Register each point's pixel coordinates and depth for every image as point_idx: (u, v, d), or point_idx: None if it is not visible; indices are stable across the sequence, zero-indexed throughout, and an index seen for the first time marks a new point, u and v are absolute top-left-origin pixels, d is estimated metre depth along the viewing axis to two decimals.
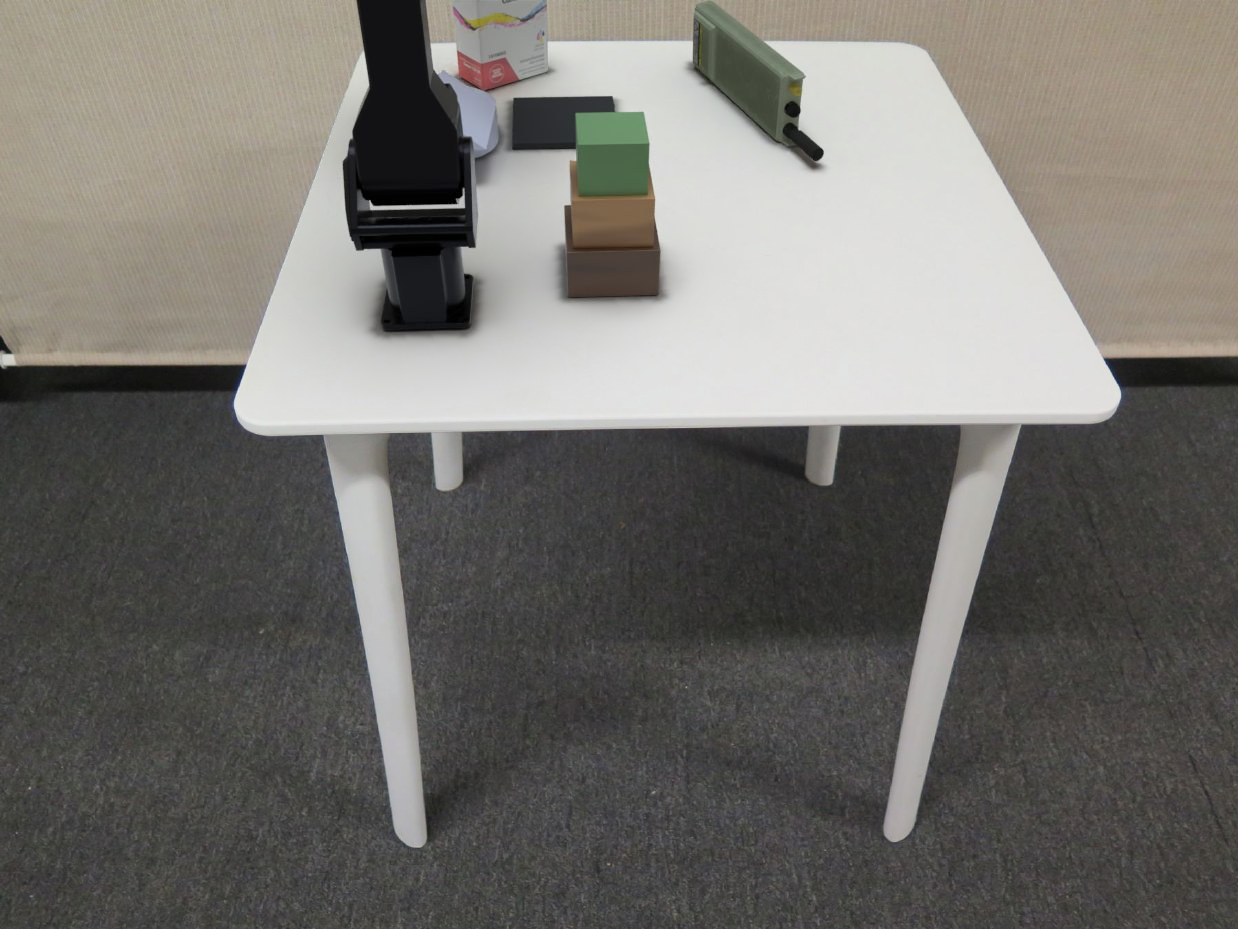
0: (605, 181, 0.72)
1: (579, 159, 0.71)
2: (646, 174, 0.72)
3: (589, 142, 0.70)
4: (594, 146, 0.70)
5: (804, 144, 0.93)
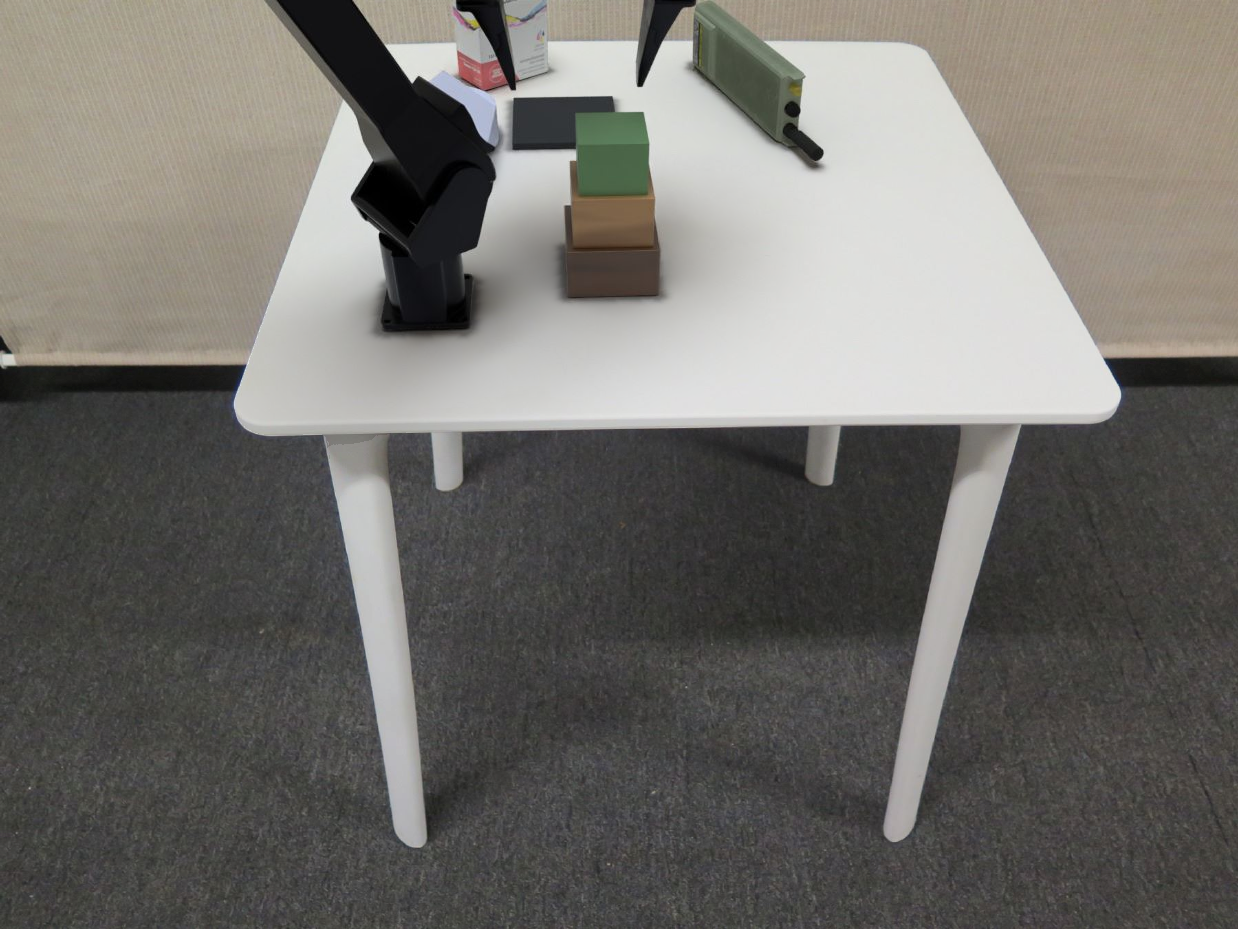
0: (605, 181, 0.72)
1: (579, 159, 0.71)
2: (646, 174, 0.72)
3: (589, 142, 0.70)
4: (594, 146, 0.70)
5: (804, 144, 0.93)
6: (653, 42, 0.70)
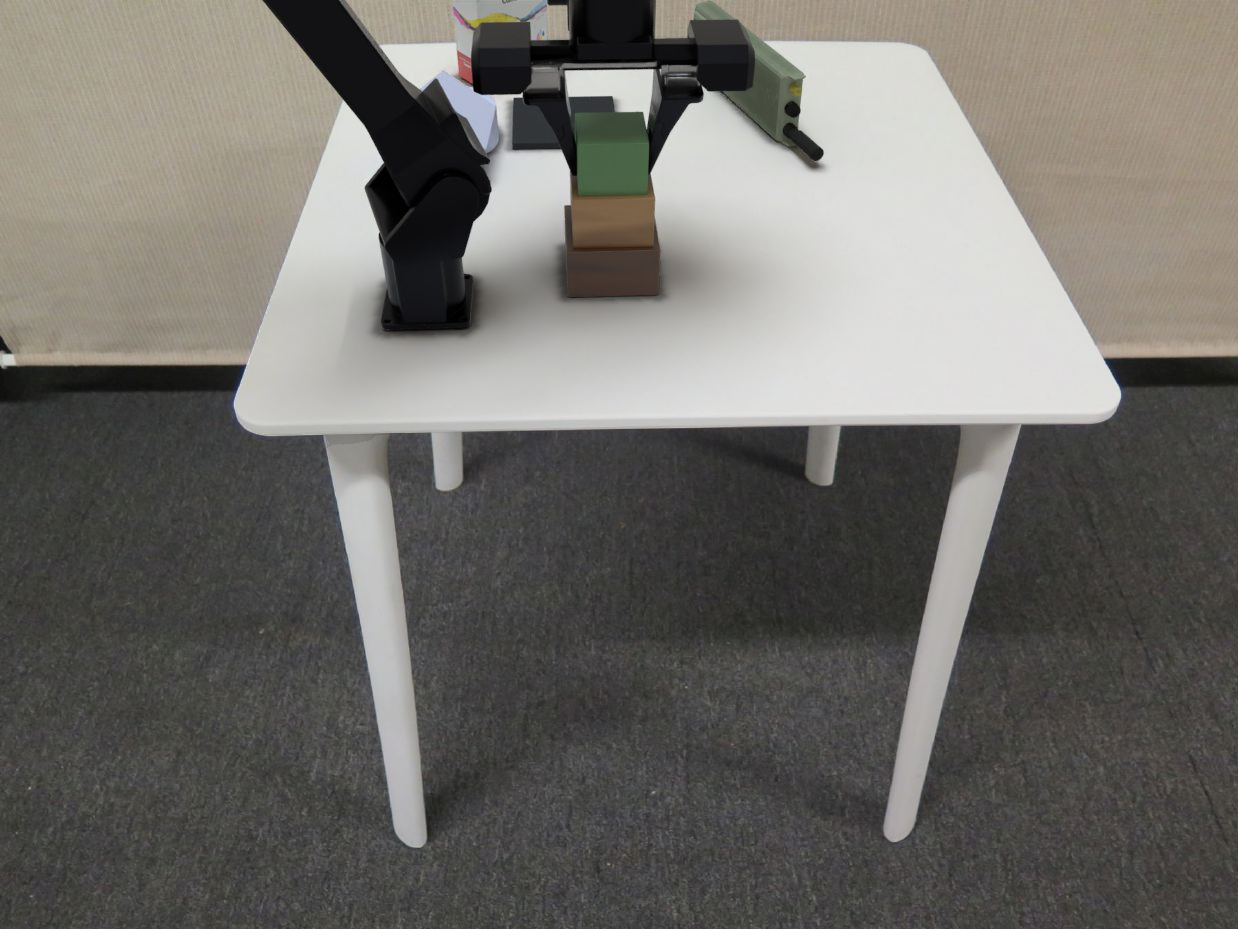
0: (604, 181, 0.72)
1: (579, 159, 0.71)
2: (646, 174, 0.72)
3: (588, 142, 0.70)
4: (594, 146, 0.70)
5: (804, 144, 0.93)
6: (660, 134, 0.71)
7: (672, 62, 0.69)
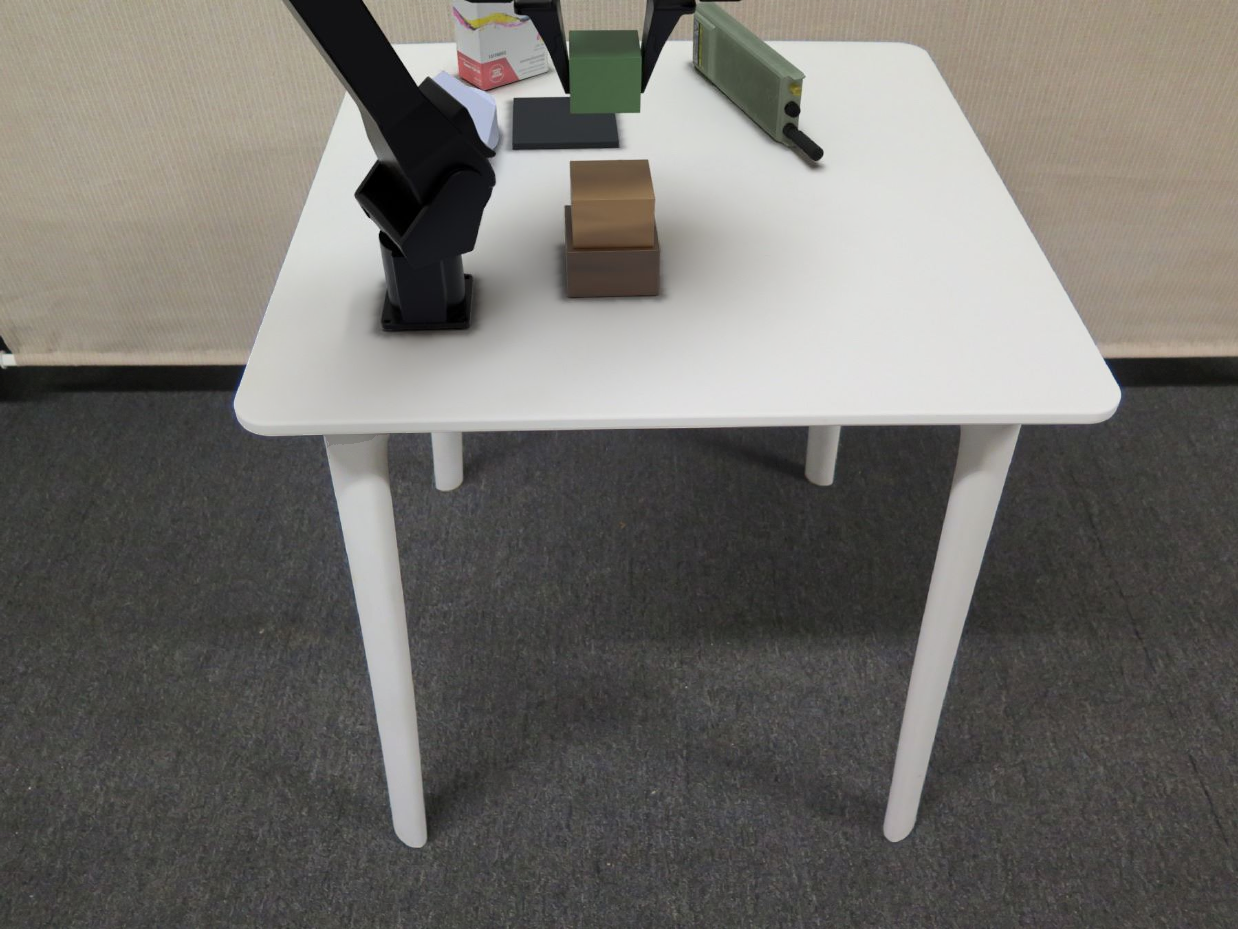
0: (597, 97, 0.72)
1: (571, 74, 0.70)
2: (638, 91, 0.71)
3: (580, 56, 0.70)
4: (586, 60, 0.70)
5: (804, 144, 0.93)
6: (653, 49, 0.70)
7: None
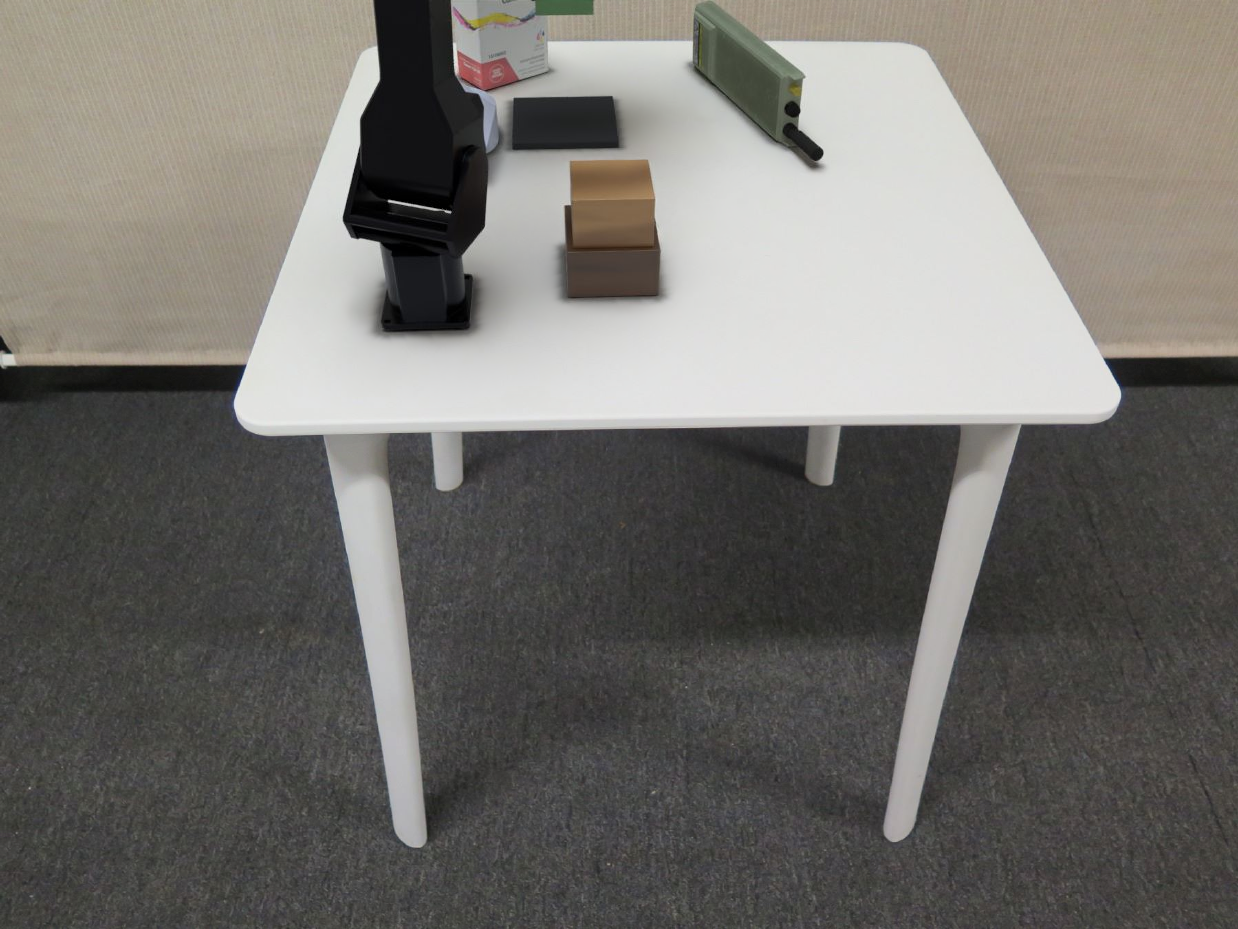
0: (557, 1, 0.87)
1: None
2: None
3: None
4: None
5: (804, 144, 0.93)
6: None
7: None
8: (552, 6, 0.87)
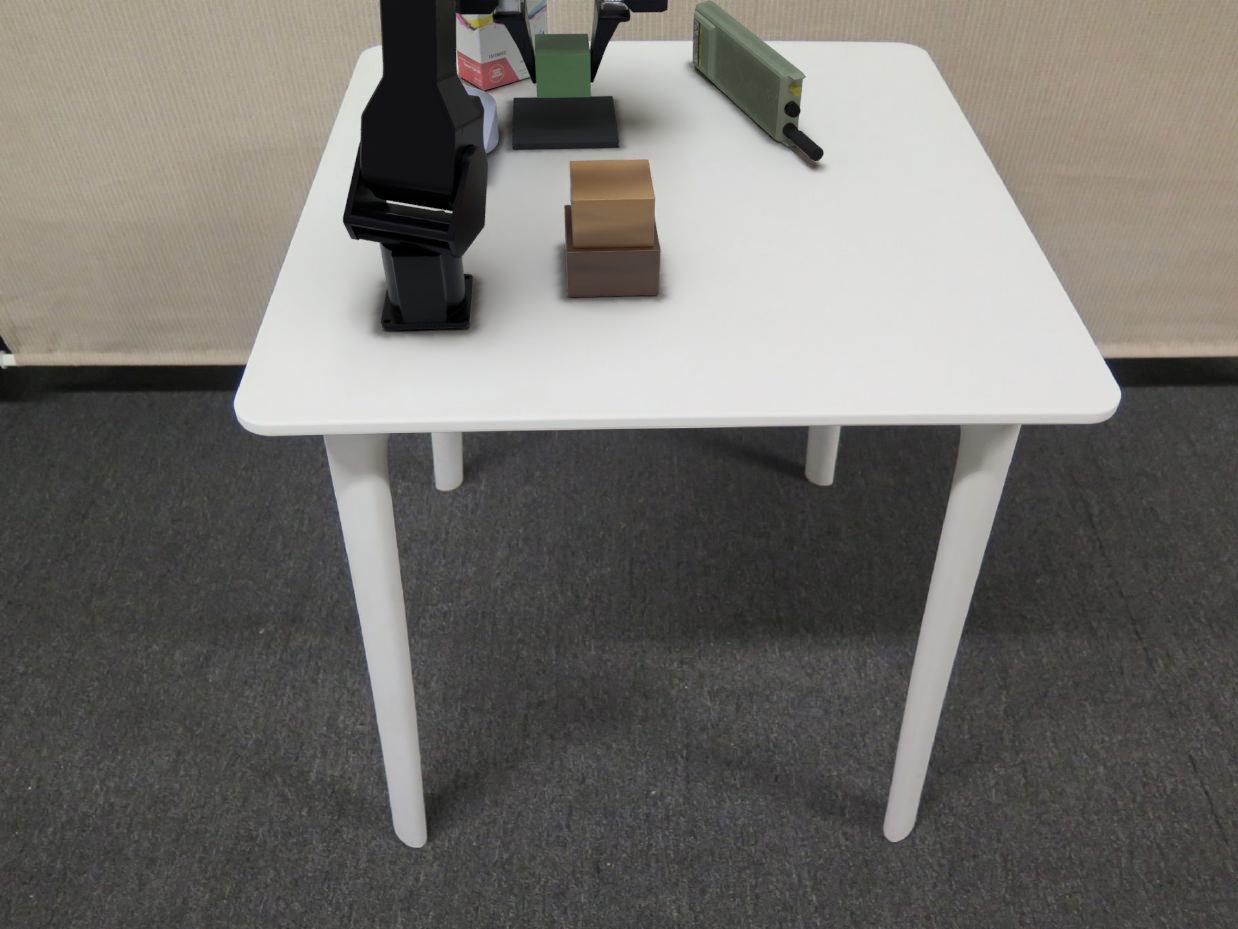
0: (557, 85, 0.93)
1: (536, 67, 0.92)
2: (588, 80, 0.93)
3: (544, 53, 0.92)
4: (548, 57, 0.92)
5: (804, 144, 0.93)
6: (599, 48, 0.92)
7: None
8: (552, 89, 0.94)
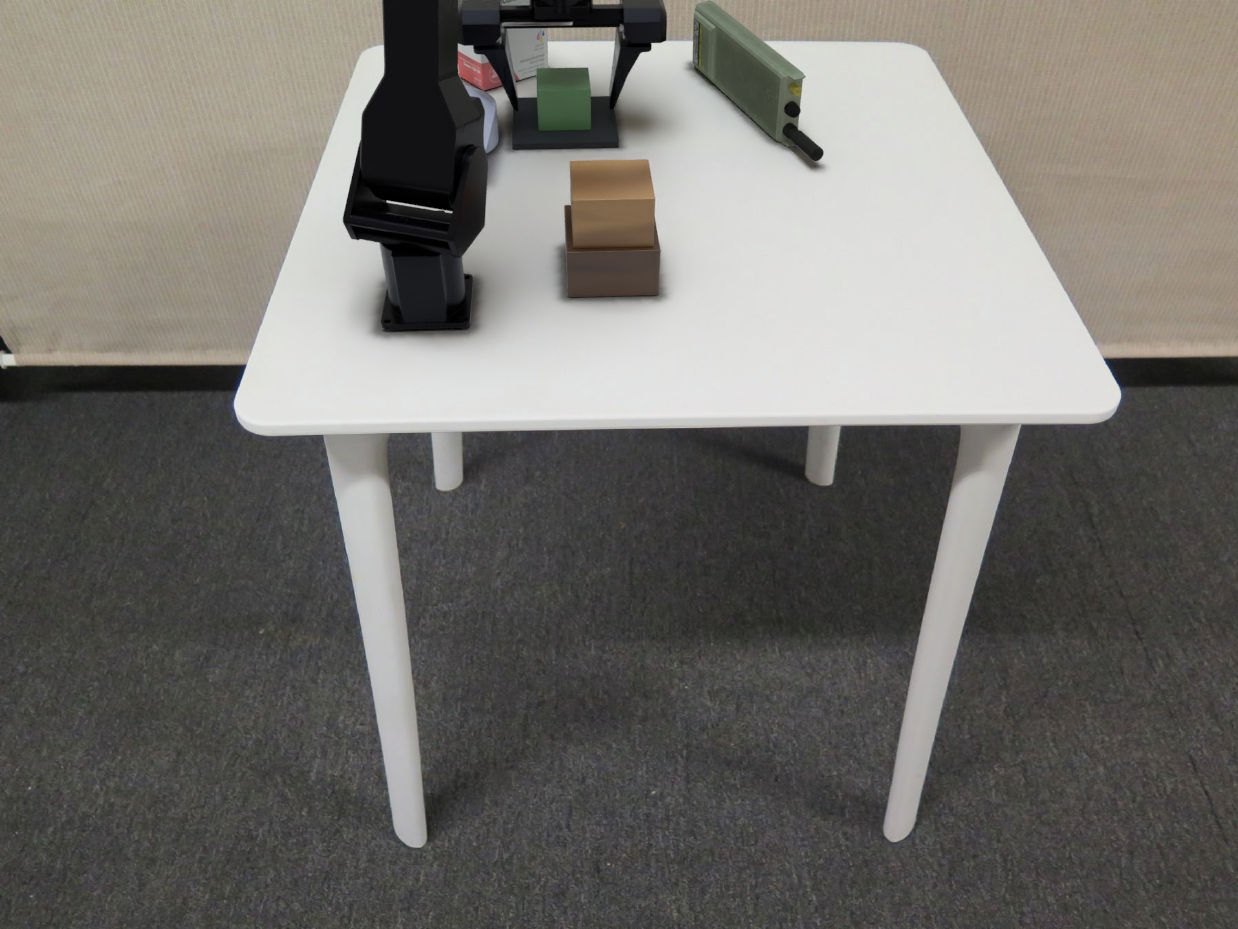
0: (558, 119, 0.96)
1: (538, 101, 0.94)
2: (589, 113, 0.96)
3: (545, 88, 0.94)
4: (549, 92, 0.94)
5: (804, 144, 0.93)
6: (620, 77, 0.94)
7: (606, 22, 0.92)
8: (553, 123, 0.96)
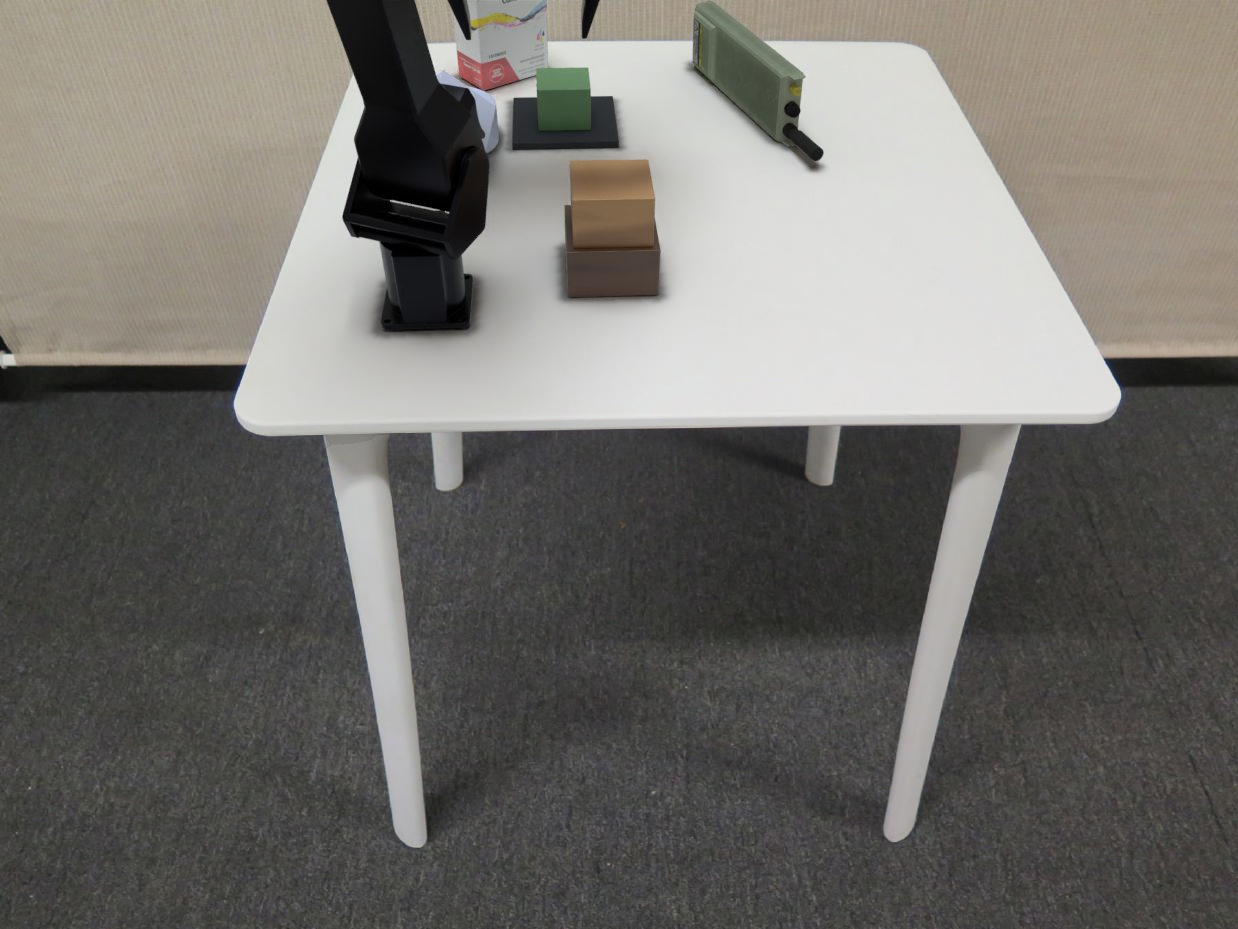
0: (558, 119, 0.96)
1: (538, 101, 0.94)
2: (589, 113, 0.96)
3: (545, 88, 0.94)
4: (549, 92, 0.94)
5: (804, 144, 0.93)
6: None
7: None
8: (553, 123, 0.96)
